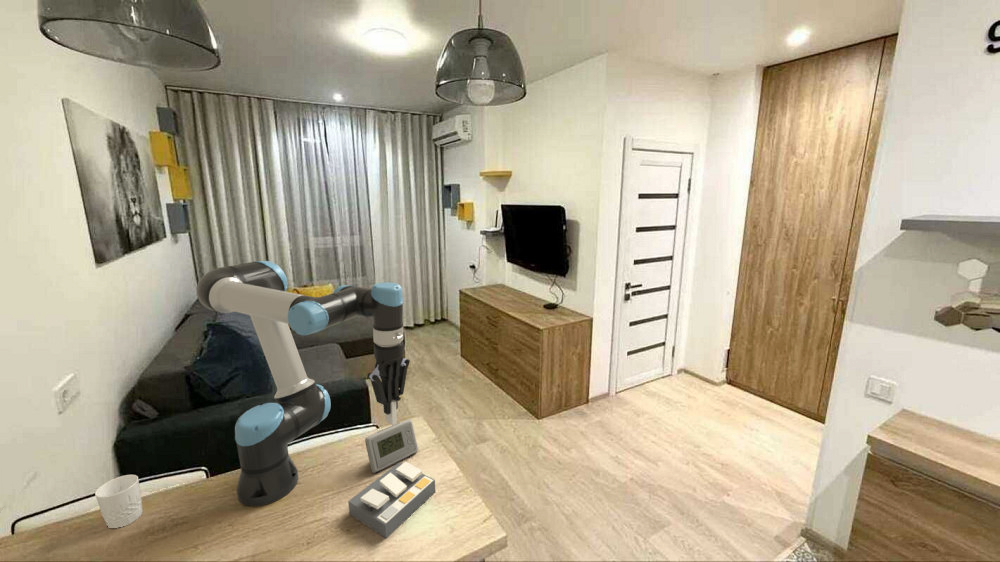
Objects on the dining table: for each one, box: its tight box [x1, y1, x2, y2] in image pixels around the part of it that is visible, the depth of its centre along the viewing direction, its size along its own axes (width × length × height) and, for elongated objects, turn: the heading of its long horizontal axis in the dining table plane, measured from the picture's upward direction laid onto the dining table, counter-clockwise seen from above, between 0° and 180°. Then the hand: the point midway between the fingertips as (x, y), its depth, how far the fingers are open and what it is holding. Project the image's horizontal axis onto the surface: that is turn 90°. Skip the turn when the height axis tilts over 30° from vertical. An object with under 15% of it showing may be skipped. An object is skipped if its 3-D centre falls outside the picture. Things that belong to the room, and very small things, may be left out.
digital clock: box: [364, 418, 419, 474], centre depth 123 cm, size 16×9×11 cm, turn 121°
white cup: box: [94, 474, 144, 529], centre depth 99 cm, size 8×8×10 cm
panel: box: [347, 461, 436, 539], centre depth 105 cm, size 14×18×5 cm
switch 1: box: [361, 489, 389, 509], centre depth 100 cm, size 6×4×2 cm, turn 58°
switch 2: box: [379, 472, 407, 497], centre depth 105 cm, size 6×4×2 cm, turn 58°
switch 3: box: [396, 461, 423, 482], centre depth 110 cm, size 6×4×2 cm, turn 58°
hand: (391, 421), depth 107 cm, fingers closed
